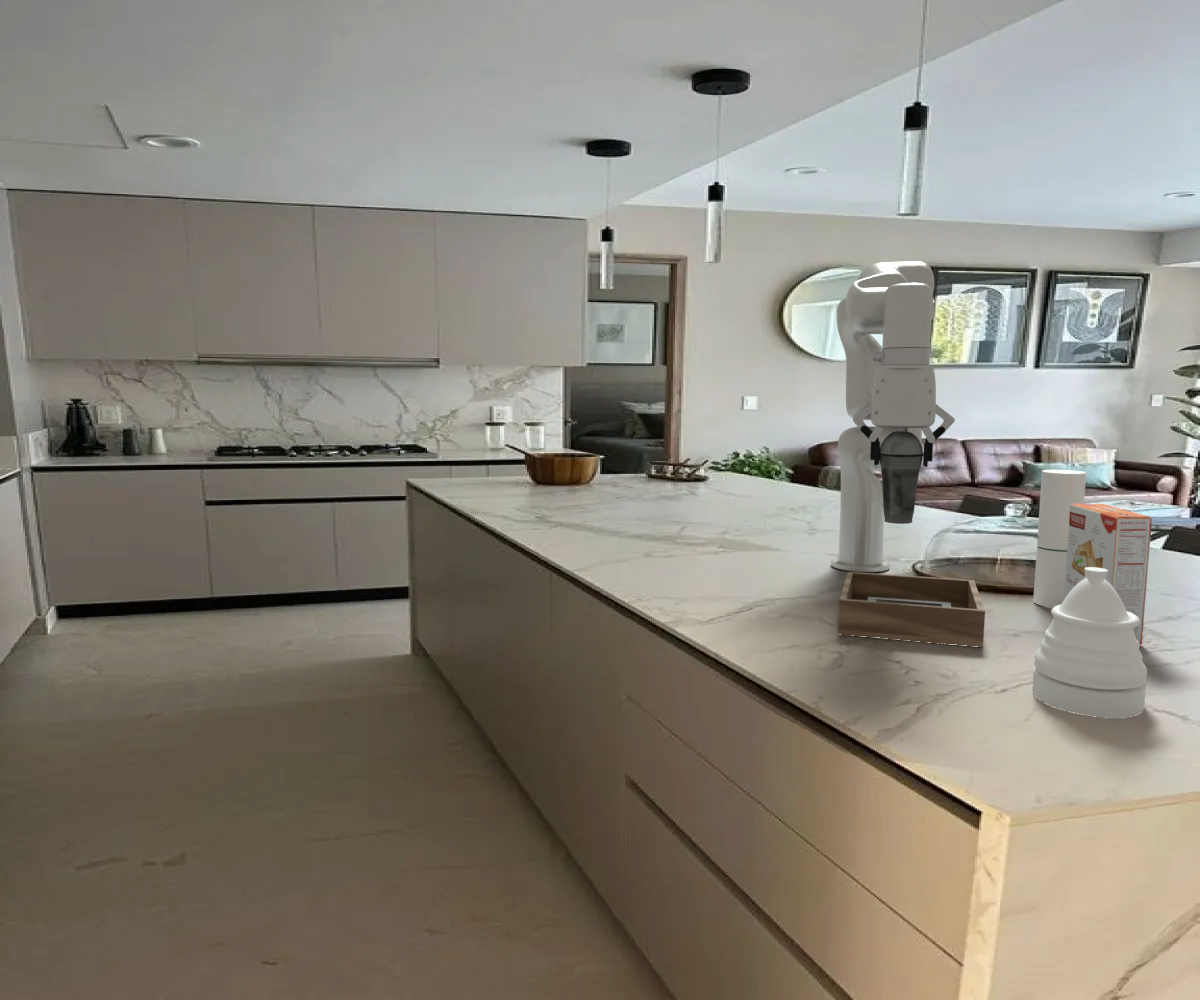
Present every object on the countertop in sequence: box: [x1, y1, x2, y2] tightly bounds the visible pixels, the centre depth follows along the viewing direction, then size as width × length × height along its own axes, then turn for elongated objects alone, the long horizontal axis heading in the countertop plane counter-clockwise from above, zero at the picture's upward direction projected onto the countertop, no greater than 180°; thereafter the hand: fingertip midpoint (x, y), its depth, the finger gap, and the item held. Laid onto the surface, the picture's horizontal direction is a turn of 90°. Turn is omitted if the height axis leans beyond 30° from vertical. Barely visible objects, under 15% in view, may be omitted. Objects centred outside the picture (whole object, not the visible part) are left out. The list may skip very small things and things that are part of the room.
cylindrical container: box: [1033, 469, 1087, 609], centre depth 158 cm, size 7×7×25 cm
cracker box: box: [1064, 502, 1153, 646], centre depth 140 cm, size 14×6×21 cm, turn 178°
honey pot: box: [1031, 567, 1148, 719], centre depth 111 cm, size 13×13×18 cm
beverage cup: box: [879, 428, 924, 525], centre depth 144 cm, size 7×7×20 cm
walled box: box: [837, 571, 986, 648], centre depth 147 cm, size 22×22×6 cm
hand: (900, 464), depth 144 cm, fingers closed on beverage cup, 7 cm apart
